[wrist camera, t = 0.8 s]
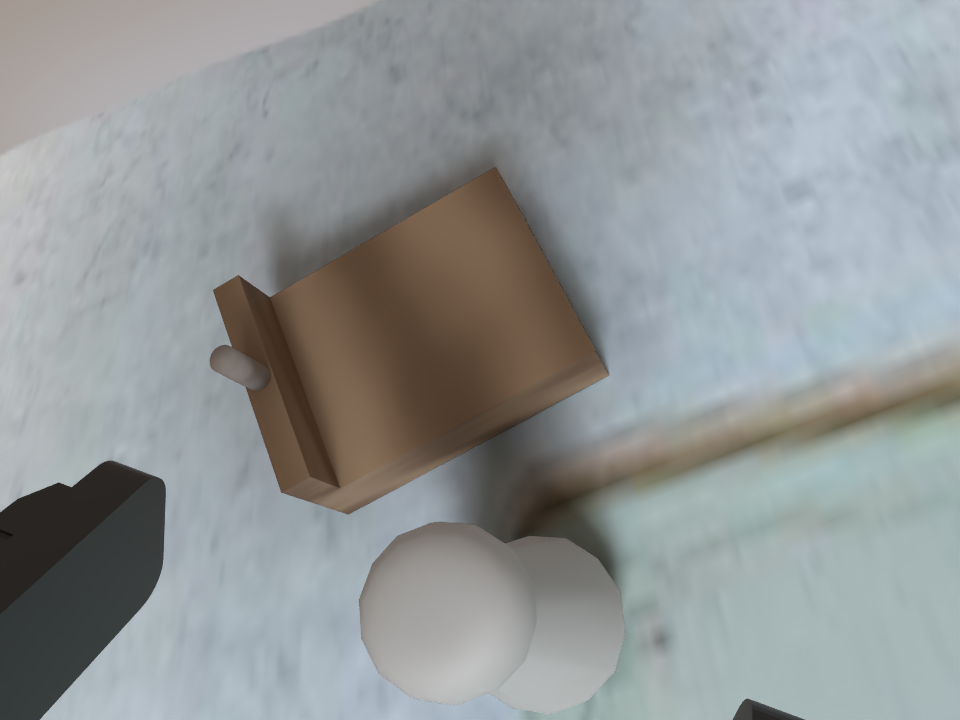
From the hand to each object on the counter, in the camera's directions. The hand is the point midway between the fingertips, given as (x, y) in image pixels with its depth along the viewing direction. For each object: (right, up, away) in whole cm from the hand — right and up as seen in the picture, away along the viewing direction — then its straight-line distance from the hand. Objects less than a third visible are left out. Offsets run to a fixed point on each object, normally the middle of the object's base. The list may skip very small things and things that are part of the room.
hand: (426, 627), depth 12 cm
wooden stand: (-1, +4, +26) cm, 26 cm away
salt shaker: (+4, -6, +21) cm, 22 cm away
